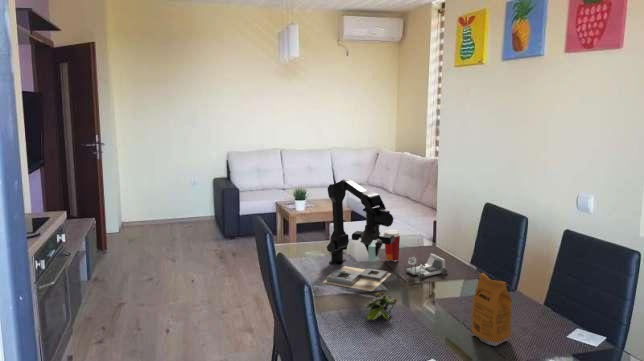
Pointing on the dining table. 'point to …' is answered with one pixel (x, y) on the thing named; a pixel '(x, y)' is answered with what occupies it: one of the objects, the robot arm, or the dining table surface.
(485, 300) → the coffee package
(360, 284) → the patch board
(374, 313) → the green leafy plant
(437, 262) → the toy car
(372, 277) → the gray square frame
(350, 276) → the port block
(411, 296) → the dining table surface
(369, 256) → the plug
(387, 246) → the coffee cup
